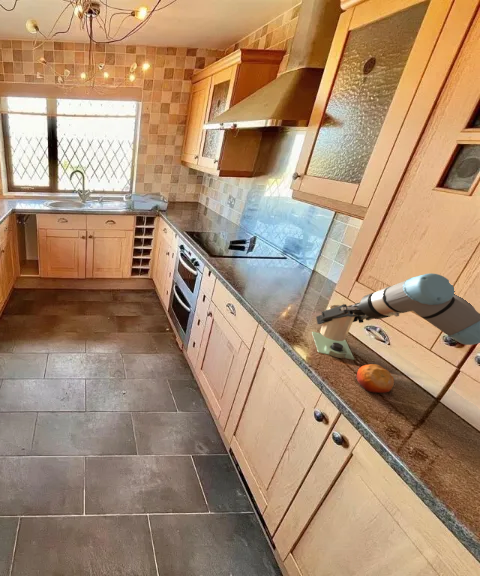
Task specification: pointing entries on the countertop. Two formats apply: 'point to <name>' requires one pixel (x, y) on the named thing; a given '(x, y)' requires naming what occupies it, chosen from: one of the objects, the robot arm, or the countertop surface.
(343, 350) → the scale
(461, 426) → the countertop surface
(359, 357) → the countertop surface
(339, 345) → the tare button
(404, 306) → the robot arm
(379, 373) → the fruit
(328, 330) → the cup
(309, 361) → the countertop surface
